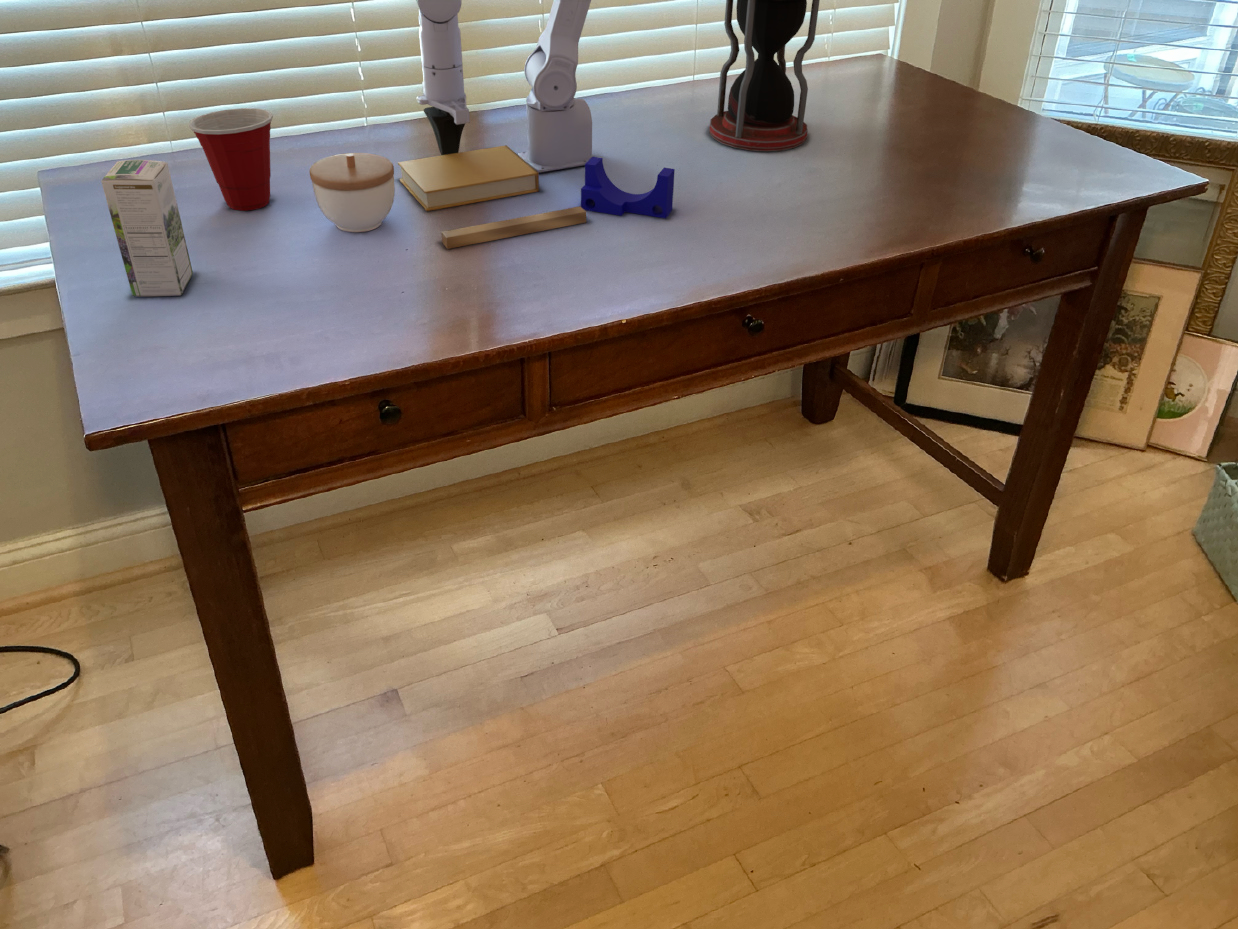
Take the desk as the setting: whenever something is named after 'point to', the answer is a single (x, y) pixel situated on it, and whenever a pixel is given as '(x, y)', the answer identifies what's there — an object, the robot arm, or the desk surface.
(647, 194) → the blue cradle bracket
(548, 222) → the rail
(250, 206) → the plastic cup
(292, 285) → the desk surface
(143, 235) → the syrup box
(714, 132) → the hourglass
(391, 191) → the trinket box
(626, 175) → the desk surface
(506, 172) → the book
